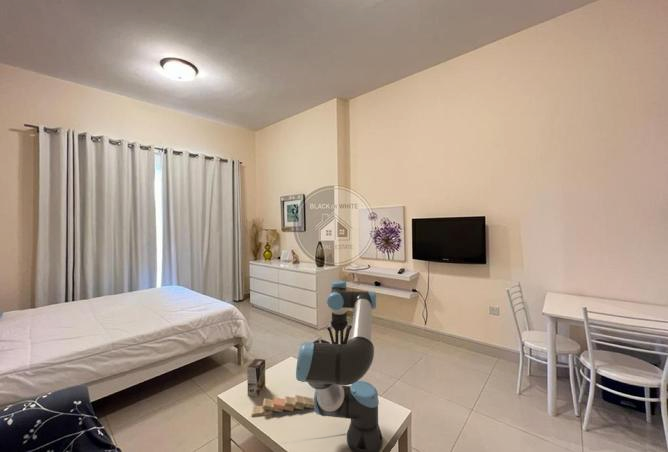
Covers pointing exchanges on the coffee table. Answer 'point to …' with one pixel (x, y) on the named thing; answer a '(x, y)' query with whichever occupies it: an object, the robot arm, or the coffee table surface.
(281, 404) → the domino
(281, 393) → the coffee table surface
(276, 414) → the mat
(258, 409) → the domino
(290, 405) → the domino
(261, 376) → the coffee box
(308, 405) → the domino
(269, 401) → the domino
